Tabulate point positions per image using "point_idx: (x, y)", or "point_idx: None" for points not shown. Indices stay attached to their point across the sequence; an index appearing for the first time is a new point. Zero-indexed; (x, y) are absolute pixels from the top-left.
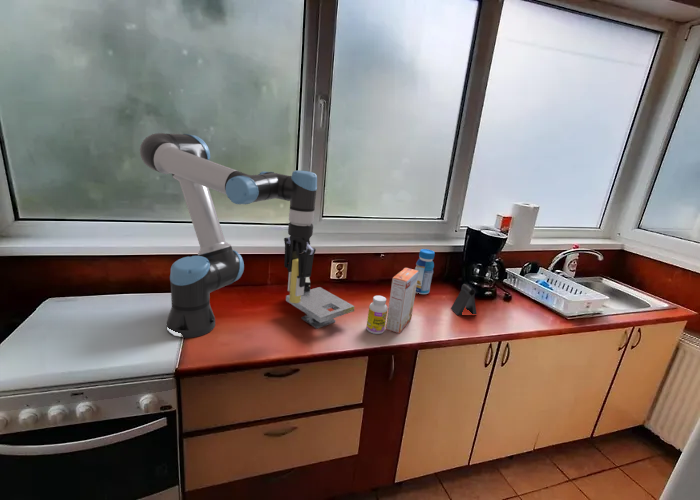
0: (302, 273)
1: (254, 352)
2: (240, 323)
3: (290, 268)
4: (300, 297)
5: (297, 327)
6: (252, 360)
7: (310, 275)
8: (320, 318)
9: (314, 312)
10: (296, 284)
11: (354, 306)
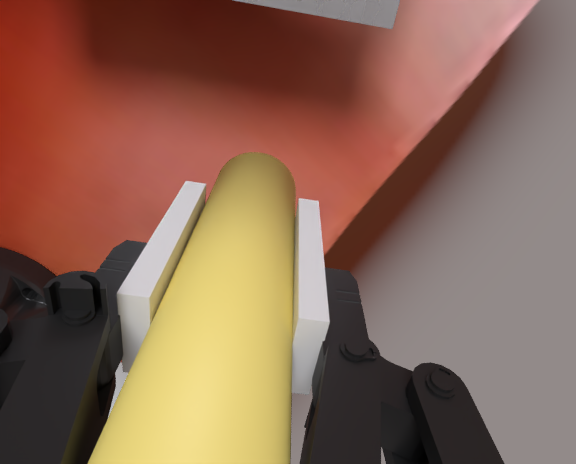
0: (285, 345)
1: None
2: (53, 188)
3: (108, 405)
4: (290, 189)
5: (218, 19)
6: None
7: (463, 393)
8: (389, 28)
9: (316, 3)
10: None
11: None
